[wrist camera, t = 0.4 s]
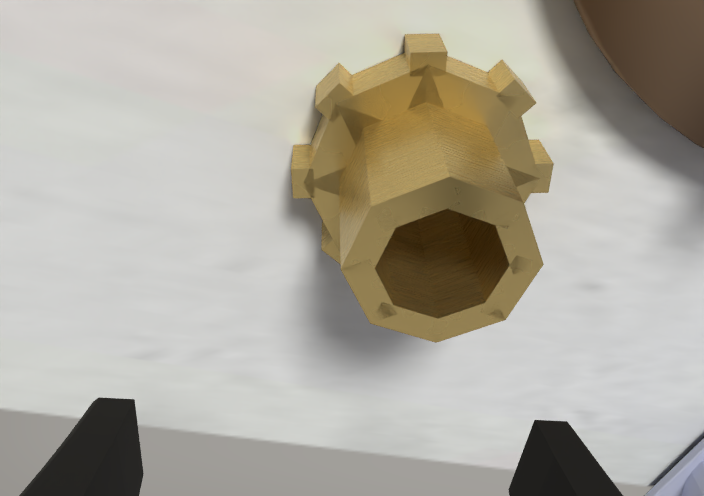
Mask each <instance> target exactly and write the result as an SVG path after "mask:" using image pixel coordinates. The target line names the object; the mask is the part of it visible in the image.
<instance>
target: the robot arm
mask: <svg viewBox="0 0 704 496" xmlns="http://www.w3.org/2000/svg"><path fill="white" fill-rule="evenodd" d="M142 478H143V467H142V459H141V450H140V442H139V434H138V426H137V417H136V409H135V401H134V399H115V398H98V399H96V400H95V401H94V402H93V403H92V404H91V406H90V407H89V408H88V410H87V411H86V412H85V414H84V415H83V417H82V418H81V419H80V421H79V422H78V424H77V425H76V426H75V427H74V429H73V430H72V431H71V433H70V434H69V435H68V437H67V438H66V439H65V441H64V442H63V443H62V444H61V446H60V447H59V448H58V449H57V451H56V452H55V453H54V455H53V456H52V457H51V458H50V460H49V461H48V462H47V463H46V465H45V466H44V467H43V468H42V470H41V471H40V472H39V473H38V474H37V475H36V477H35V478H34V479H33V480H32V481H31V483H30V484H29V485H28V486H27V487H26V488H25V490H24V491H23V492H22V493H21V494H20V496H139V492H140V488H141V483H142ZM509 495H510V496H623V495H622V494H621V492H620V491H619V490H618V488H617V487H616V486H615V485H614V483H613V482H612V481H611V479H610V478H609V477H608V475H607V474H606V473H605V471H604V470H603V469H602V467H601V466H600V465H599V463H598V462H597V461H596V459H595V458H594V457H593V455H592V454H591V453H590V451H589V450H588V449H587V447H586V446H585V445H584V443H583V442H582V441H581V439H580V438H579V437H578V435H577V434H576V433H575V431H574V430H573V429H572V427H571V426H570V425H569V423H568V422H564V421H544V420H535V421H534V423H533V426H532V429H531V431H530V434H529V437H528V439H527V442H526V445H525V447H524V450H523V453H522V455H521V458H520V461H519V463H518V466H517V469H516V471H515V474H514V477H513V479H512V482H511V485H510V488H509ZM644 496H704V438H703V439H702V440H701V441H700V442H699V443H698V444H697V445H696V446H695V447H694V448H693V449H692V450H691V451H690V452H689V453H688V454H687V455H686V456H685V457H684V458H683V459H682V460H681V461H679V462H678V463H677V464H676V465H675V466H674V467H673V468H672V469H671V470H670V471H669V472H668V473H667V474H666V475H665V476H664V477H663V478H662V479H661V480H660V481H659V482H658V483H657V484H656V485H655V486H654V487H653V488H652V489H650V491H648V492H647V493H646V495H644Z"/></svg>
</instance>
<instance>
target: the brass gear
mask: <svg viewBox="0 0 704 496" xmlns="http://www.w3.org/2000/svg"><path fill="white" fill-rule="evenodd" d="M535 104H536V101H535V100H534V99H533V97H532V96H531V94H530V93H529V91H528V90H527V88H526V87H525V85H524V84H523V82H522V81H521V80H520V79H519V78H518V77H517V76H516V75H515V73H514V72H513V71H512V70H511V69H510V68H509V67H508V66H507V65H506V64H505V62H504V61H503V60H501V61H500V62H499V63H498V64H497V65H496V66H494V67H493V68H492V69H491V70H490V71H489V72H485V71H483V70H480V69H478V68H475V67H473V66H470V65H468V64H465V63H463V62H461V61H458V60H456V59H453V58H451V57H448V56H447V50H446V48H445V46H444V43H443V41H442V39H441V37H440V35H439V34H405V44H404V53H403V54H401V55H398V56H396V57H394V58H391V59H389V60H387V61H384V62H382V63H380V64H377V65H375V66H372V67H370V68H368V69H365V70H363V71H361V72H358V73H356V74H354V75H351V74H350V73H349V72H348V71H347V70H346V69H345V68H344V67H343V66H342V65H341V64H340V63H338V64H337V65H336V66H335V67H334V69H333V70H332V71H331V72H330V73H329V74H328V75H327V76H326V77H325V78H324V79H323V80H322V81H321V82H320V83H319V84H318V85H317V86H316V100H315V108H316V109H317V110H319V111H320V112H321V113H322V114H323V115H322V118H321V120H320V123H319V125H318V128H317V130H316V133H315V135H314V138H313V140H312V143H311V145H294V146H293V156H292V165H291V176H292V190H293V198H311V199H312V201H313V203H314V205H315V207H316V209H317V211H318V212H319V214H320V216H321V218H322V220H323V222H322V250H323V251H324V252H325V253H326V254H328V255H329V256H330V257H332V258H333V259H334V260H335V261H337V262H338V263H339V264H341V271H342V273H343V274H344V276H345V278H346V280H347V282H348V284H349V285H350V287H351V289H352V291H353V293H354V295H355V296H356V298H357V300H358V302H359V304H360V306H361V307H362V309H363V311H364V313H365V315H366V317H367V318H368V320H369V322H370V324H374V325H377V326H381V327H384V328H388V329H391V330H395V331H398V332H401V333H405V334H408V335H412V336H415V337H419V338H422V339H426V340H429V341H432V342H439V341H442V340H446V339H449V338H452V337H455V336H458V335H461V334H464V333H467V332H470V331H473V330H476V329H479V328H482V327H485V326H488V325H491V324H494V323H497V322H500V321H504V320H506V318H507V317H508V315H509V314H510V312H511V311H512V309H513V308H514V307H515V305H516V304H517V302H518V301H519V299H520V298H521V296H522V295H523V293H524V292H525V291H526V289H527V288H528V286H529V285H530V283H531V282H532V280H533V279H534V277H535V276H536V275H537V273H538V272H539V270H540V269H541V267H542V266H543V261H542V258H541V255H540V252H539V249H538V246H537V243H536V240H535V236H534V233H533V230H532V227H531V224H530V221H529V218H528V215H527V212H526V209H525V205H524V203H525V201H526V200H527V198H528V197H529V195H530V193H548V192H549V186H550V180H551V175H552V169H553V164H554V163H553V162H552V160H551V159H550V157H549V155H548V154H547V152H546V150H545V149H544V147H543V146H542V144H541V142H540V141H539V140H528V137H527V134H526V130H525V127H524V124H523V120H522V117H521V116H522V115H523V114H524V113H525V112H526V111H528V110H529V109H530V108H531V107H532V106H533V105H535Z"/></svg>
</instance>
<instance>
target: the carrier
mask: <svg viewBox="0 0 704 496" xmlns="http://www.w3.org/2000/svg"><path fill="white" fill-rule="evenodd" d="M573 1H574V3H575V5H576V7H577V10H578V12H579V14H580V16H581V18H582V20H583V22H584V24H585V26H586V29H587V31H588V33H589V35H590V36H591V37H592V39H593V40H594V42H595V43H596V45H597V46H598V48H599V49H600V51H601V52H602V54H603V55H604V56H605V58H606V59H607V61H608V62H609V64H610V65H611V67H612V68H613V70H614V71H615V72H616V73H617V74H618V75H619V76H620V77H621V78H622V79H623V80H624V81H625V83H626V84H627V85H628V86H629V87H630V88H631V89H632V90H633V91H634V92H635V93H636V94H637V95H638V96H639V97H640V98H641V99H642V100H643V101H644V102H645V103H646V104H647V105H648V106H649V107H650V108H651V109H652V110H653V111H654V112H655V113H656V114H657V115H658V116H659V117H660V118H661V119H663V120H664V121H665V122H667V123H668V124H669V125H671V126H672V127H673V128H675V129H676V130H677V131H679V132H680V133H682V134H683V135H684V136H686V137H687V138H688V139H690V140H691V141H692V142H694V143H695V144H697V145H699V146H701V147H702V148H704V0H573Z"/></svg>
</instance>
